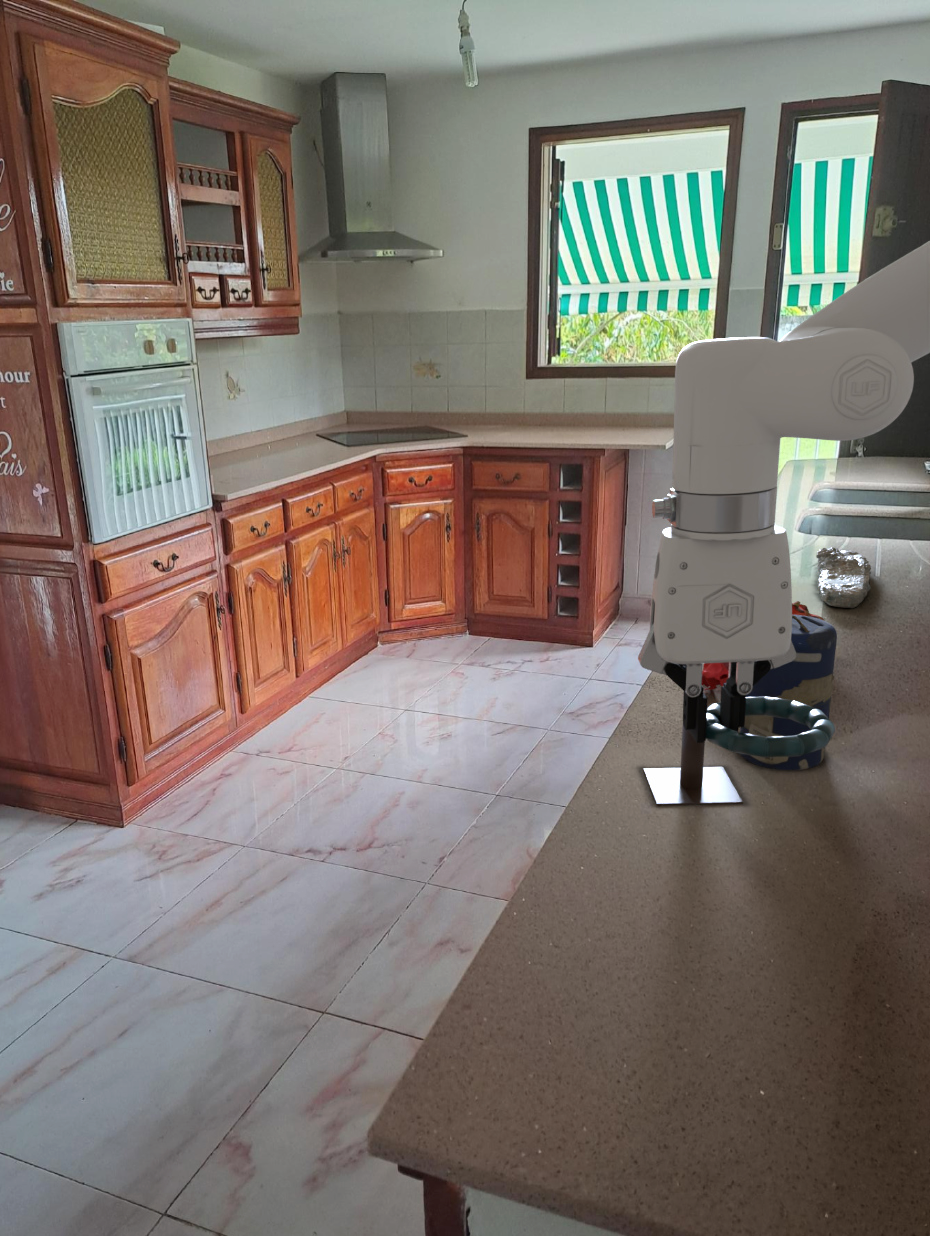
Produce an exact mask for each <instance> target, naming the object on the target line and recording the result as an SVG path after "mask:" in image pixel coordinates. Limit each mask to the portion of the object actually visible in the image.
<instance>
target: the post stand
mask: <svg viewBox="0 0 930 1236" xmlns="http://www.w3.org/2000/svg"><path fill="white" fill-rule="evenodd" d="M681 730H682V732H681V734H682V735H681V750H680V752H681V753H680V767H651V768H649V767H648V768H647V767H646V768H642V770H643V773H644V776H645V778H646V781H647V783H648V787H649V788H650V791H651V794H652V796H653V799H654V802H655V804H656V806H674V805H675V806H677V805H678V806H679V805H680V806H681V805H684V806H685V805H724V804H725V805H727V804H729V805H731V804H734V805H735V804H736V805H737V804H743V803H744V801H743V800H742V797H741V796H740V795H739V792H738V791H737V789H736V788H735V786H734V784H733V782H732V781H731V778H730V777H729V775H728V773H727V771H726V770H725V768H724V766H704V764H705V763H704V762H705V746H706V741H704V742H703V743H696V742H695V740H694V738H693V736H692V735H691V733H690V731H689V730H685V728H684V726H683V725H682V728H681Z"/></svg>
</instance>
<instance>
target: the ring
mask: <svg viewBox="0 0 930 1236" xmlns="http://www.w3.org/2000/svg"><path fill="white" fill-rule="evenodd" d="M720 704H721V701H718V702H715V703H712V704H711V705H709V706H707V727H706V741H708V742H710V743H712V744H714V745H716V746H718V747H721V748H723V749H725V750H727V751H729V752H731V753H736V754H740V753H741V754H747V755H753V756H759V757H766V758H767V757H794V756H801V755H804V754H807V753H810V752H813V751H817V750H820V749H823V748H824V747H825V748H826V747H827V746H828V745H829V742H830V741H831V739H832V738H833V736H834V734H835V731H836V726H835V724H834V723H833V721H832V720H831V719H830V717H829V718H828V717H827V716H826V715H825V714H824V713H823V712H822V711H821V710H819V709H817V708H814V707H811V706H808V705H806V704H803V703H800V702H797V701H794V700H787V699H779V698H772V697H746V709H745V716H759V715H765V716H772V717H779V718H786V719H791V720H793V721H796V722H799V723H801V724H804V725H806V726H808V727H809V728H810V729H811V730H810V731H808V732H805V733H801V734H798V735H795V736H775V737H764V736H758V735H752V734H745V733H740V731H738V732H736V731H734V730H732V729H729V728H727V727H725V726H722V725H721V723H720ZM741 754H740V755H741Z"/></svg>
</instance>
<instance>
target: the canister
mask: <svg viewBox="0 0 930 1236" xmlns="http://www.w3.org/2000/svg"><path fill="white" fill-rule="evenodd" d="M791 641H792V643H793V646H794V649H795V651H796V655H797V656H796V659H795V660H794V661H792V662H790V663H787V664H785V665H782V666H780V667H778V668H775V669H774V668H773V669H771V670H770V671H769V672H768V673H767V674H766V675H765V676H763V677H762V678H761V679H760V680H759V681H758V682H757V683H756V684H755V685H754V686H753V688H752V691H751V692H750V693H749V694H747V695H746V697H772V698H779V699H787V700H794V701H797V702H800V703H803V704H806V705H808V706H811V707H814V708H817V709H819V710H821V711H822V712H823V713H824V714H825V715H826V716H827V717H828V718H829V719H830V714H831V705H832V693H833V687H834V684H833V683H834V682H833V681H834V679H835V676H834V669H835V659H836V652H837V651H836V650H837V643H838V642H837V641H838V632H837V630H836V628H835V626H833V625H832V624H831V623H830V622H828V621H826V620H825V621H823V620H821V619H818V618H814V617H809V616H803V615H792V633H791ZM810 730H811V729H810V728H809V727H808V726H806V725H804V724H801V723H799V722H796V721H793V720H791V719H786V718H779V717H772V716H765V715H759V716H745V725H744V727H741V728H739V733H745V734H752V735H758V736H764V737H775V736H795V735H798V734H801V733H805V732H808V731H810ZM825 753H826V747H824V748H823V749H820V750H817V751H813V752H810V753H807V754H804V755H801V756H794V757H767V758H766V757H759V756H753V755H747V754H741V753H739V754H740V756H741V757H742V758H743V759H744V760H746V761H747V762H749V763H752V764H754V765H756V766H759V767H762V768H767V769H772V770H779V771H799V770H807V769H810V768H815V767H816V766H818V765H820V764H821V763H822V762H823V760H824V758H825Z"/></svg>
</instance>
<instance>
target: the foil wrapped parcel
mask: <svg viewBox="0 0 930 1236" xmlns="http://www.w3.org/2000/svg"><path fill="white" fill-rule="evenodd" d="M815 557H816V559H817V562H818V563H817V570H818V576H819V577H818V578H817V583H816V585H817V590H818V595H820V599H821V602H824V603H826V604H827V605H828V606H832V607H836V608H845V609H854V608H857V607H858V606H859V605H860V604H861V603H863V601H864V599H865V598H866V597H867V595H868V592H869V591H870V590H871V589H872V588H871V584H869V583H870V580H871V573H872V572H871V570H872V565H871V564H869V560H867V557H865V556H863V555H862V554H861V553H859V552H857V551H854V550H847V549H846V550H844V549H839V548H836V547H833V546H832V547H830V548H826V547H822V548H821V549H819V550H817V552H816V555H815Z"/></svg>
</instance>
